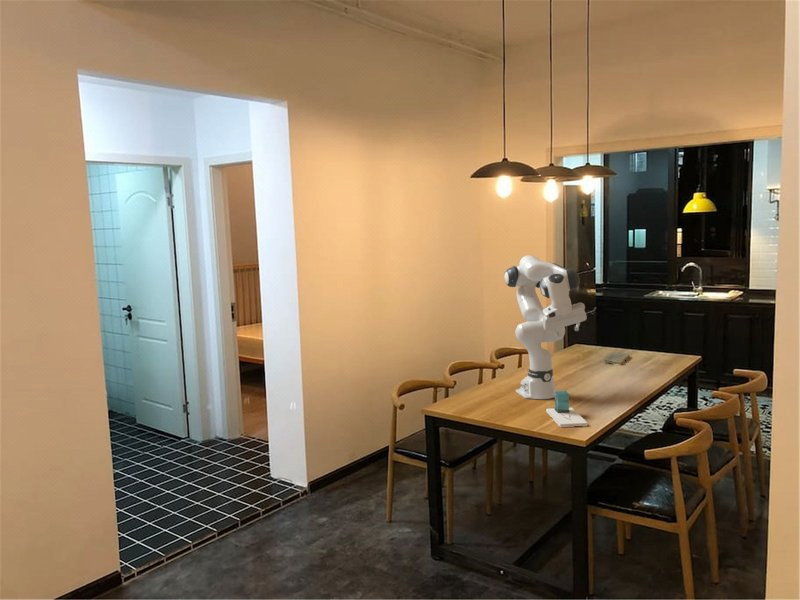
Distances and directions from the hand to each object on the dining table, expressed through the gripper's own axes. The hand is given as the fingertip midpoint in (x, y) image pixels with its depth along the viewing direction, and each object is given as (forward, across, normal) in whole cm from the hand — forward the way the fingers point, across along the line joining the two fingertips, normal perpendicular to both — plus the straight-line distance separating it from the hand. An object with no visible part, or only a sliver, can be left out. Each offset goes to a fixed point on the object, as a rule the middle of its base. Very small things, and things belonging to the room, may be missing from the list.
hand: (567, 333), depth 300 cm
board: (+28, +14, +26) cm, 40 cm away
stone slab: (+78, -47, -83) cm, 124 cm away
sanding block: (+28, +14, +18) cm, 36 cm away
